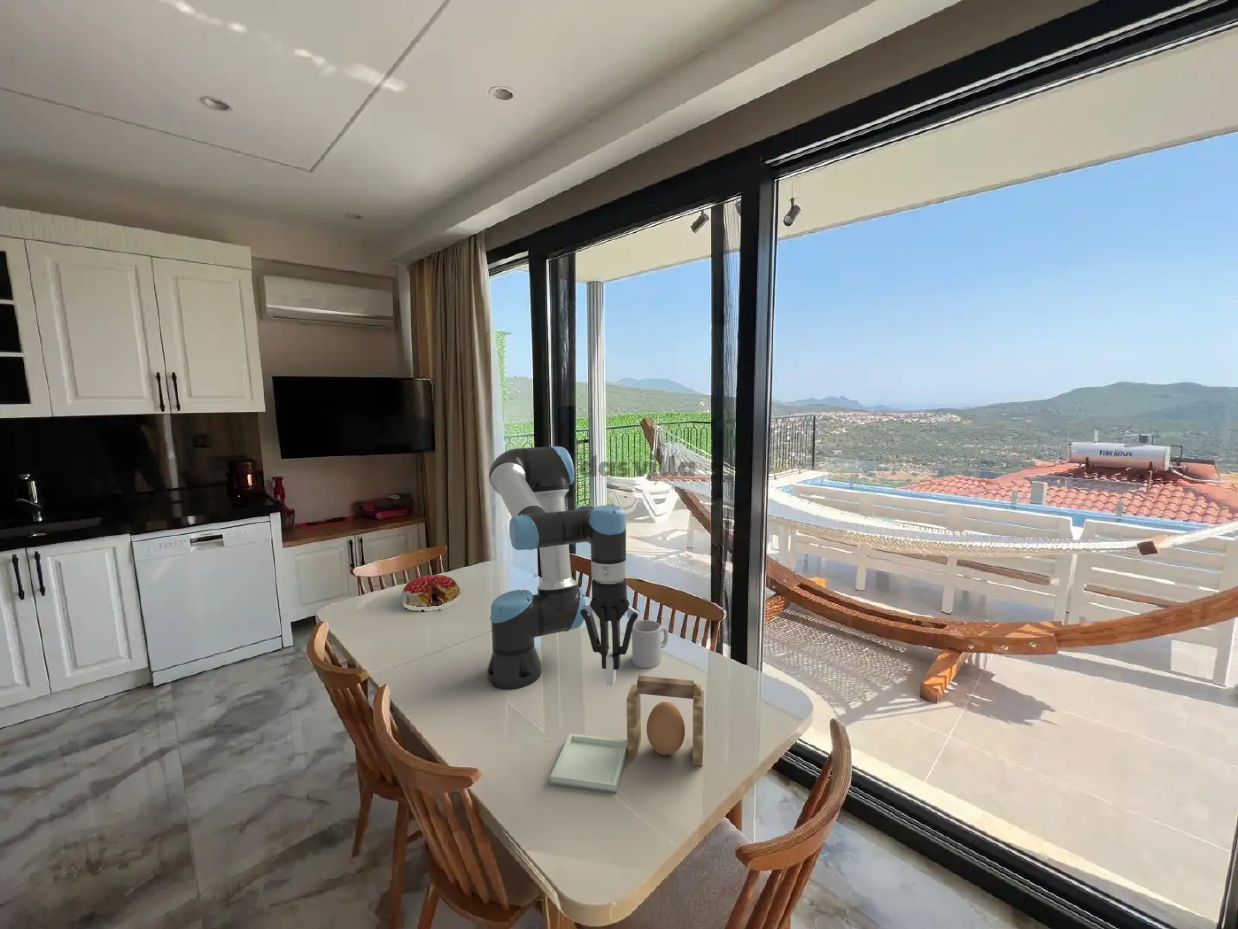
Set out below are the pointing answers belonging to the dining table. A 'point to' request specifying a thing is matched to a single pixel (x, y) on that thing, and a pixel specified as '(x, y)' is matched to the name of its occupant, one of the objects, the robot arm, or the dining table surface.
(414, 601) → the cake
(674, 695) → the wooden crossbeam
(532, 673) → the robot arm
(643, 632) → the mug
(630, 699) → the wooden post pair
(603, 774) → the dish
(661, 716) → the egg
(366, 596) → the dining table surface
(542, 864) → the dining table surface
